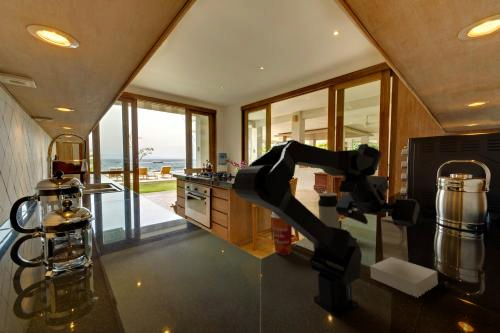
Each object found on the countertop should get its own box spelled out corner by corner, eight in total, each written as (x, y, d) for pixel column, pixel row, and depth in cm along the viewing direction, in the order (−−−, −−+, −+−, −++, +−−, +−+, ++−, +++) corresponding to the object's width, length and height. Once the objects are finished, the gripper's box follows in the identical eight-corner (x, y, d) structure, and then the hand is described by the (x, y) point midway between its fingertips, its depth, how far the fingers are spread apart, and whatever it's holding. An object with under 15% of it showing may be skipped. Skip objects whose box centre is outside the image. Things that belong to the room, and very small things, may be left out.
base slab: (417, 298, 44) (416, 283, 44) (370, 277, 52) (370, 266, 53) (437, 284, 48) (436, 271, 49) (392, 267, 57) (391, 256, 57)
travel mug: (336, 241, 80) (333, 195, 81) (316, 237, 85) (314, 194, 86) (343, 236, 86) (340, 193, 86) (324, 232, 91) (322, 192, 92)
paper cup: (268, 252, 71) (266, 212, 72) (280, 246, 77) (278, 209, 77) (287, 258, 66) (285, 215, 66) (299, 251, 72) (297, 211, 72)
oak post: (400, 267, 57) (397, 221, 57) (383, 262, 61) (380, 218, 61) (408, 263, 59) (405, 218, 60) (391, 258, 63) (389, 216, 63)
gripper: (413, 165, 47) (432, 206, 53) (338, 168, 62) (359, 200, 68) (402, 203, 42) (424, 244, 48) (324, 197, 57) (348, 228, 63)
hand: (383, 226), depth 57 cm, fingers open, 9 cm apart
